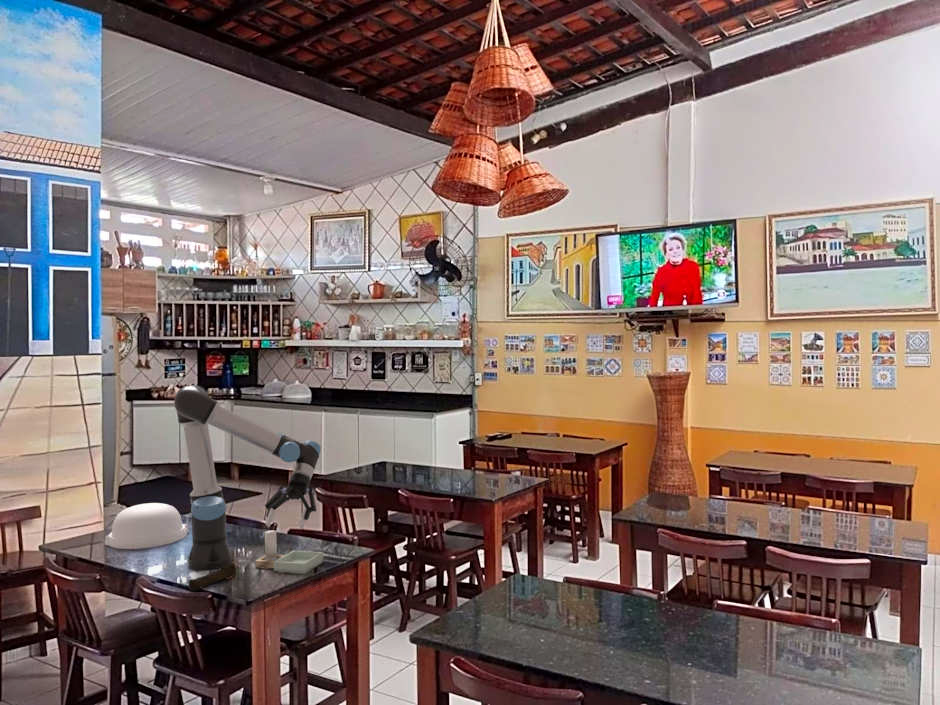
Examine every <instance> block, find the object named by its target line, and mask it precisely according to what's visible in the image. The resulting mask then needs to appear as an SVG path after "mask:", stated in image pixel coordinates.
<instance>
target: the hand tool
mask: <svg viewBox="0 0 940 705" xmlns="http://www.w3.org/2000/svg"><path fill="white" fill-rule="evenodd" d="M234 574H235V575H237V568H236V564H235V563H233V562H232V563H230V564H227V565H223V566H222V567H220V568H219V569H218V570H216V571H213V572H210V573H207V574H206V575H202V576H200V577H197V578H195V579H190V580H188V589H189V591H192V592H197V591H198V590H201V589H202V588H205V587H207V586H209V585H212V584H214V583H216V582H219V581H221V580H223V579H226V580H228V579H227V578H229V577H231V576H232V577H234V576H235V575H234ZM233 575H234V576H233ZM232 577H231V578H232ZM229 579H230V578H229Z"/></svg>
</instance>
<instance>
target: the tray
mask: <svg viewBox="0 0 940 705" xmlns="http://www.w3.org/2000/svg"><path fill="white" fill-rule="evenodd" d="M284 555H285V556H283V557H281V558H279V559H278V560H276V561H274V569H273V572H274V571H278V572H277V573H285V572H290V574H299V575H300V574H302V575H303V574H304V575H305V574H308V573H309V572H310V571H312V570H313V569H315V568H317V567H318V566H319V565H321V564H323V563H324V551H310V550H309V551H308V550H291V551H290V552H288V553H286V554H284Z"/></svg>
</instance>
